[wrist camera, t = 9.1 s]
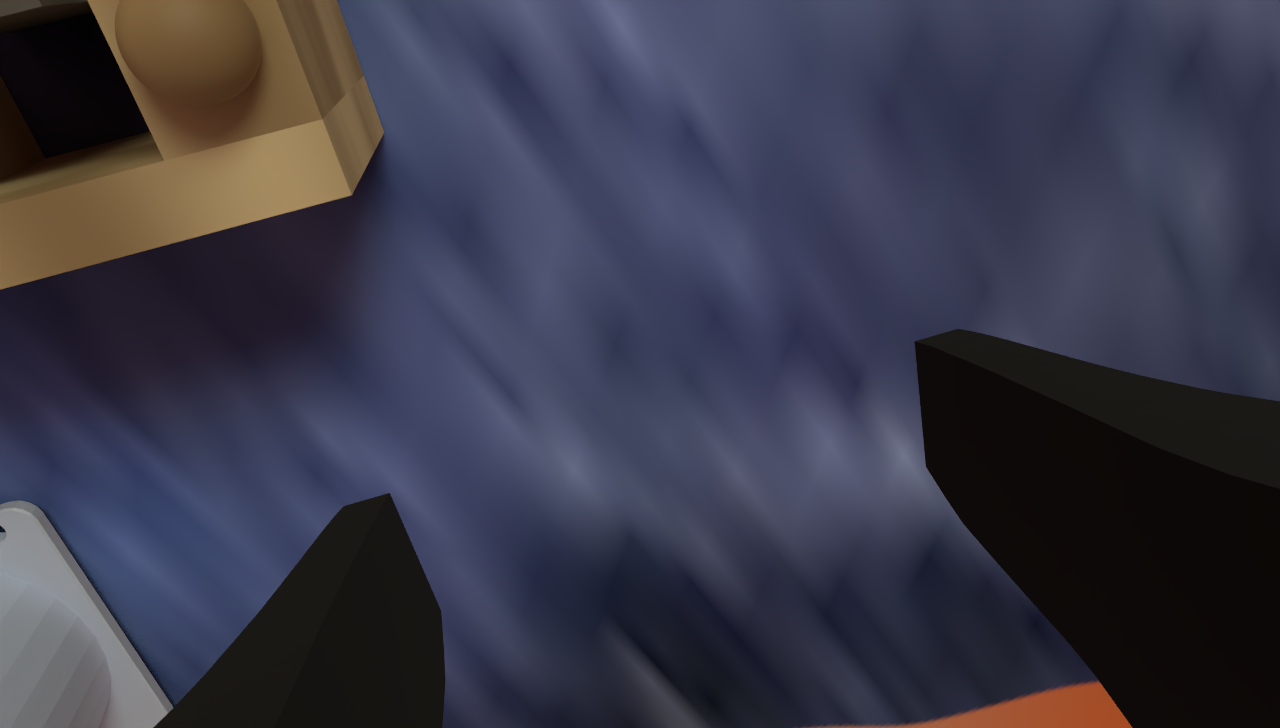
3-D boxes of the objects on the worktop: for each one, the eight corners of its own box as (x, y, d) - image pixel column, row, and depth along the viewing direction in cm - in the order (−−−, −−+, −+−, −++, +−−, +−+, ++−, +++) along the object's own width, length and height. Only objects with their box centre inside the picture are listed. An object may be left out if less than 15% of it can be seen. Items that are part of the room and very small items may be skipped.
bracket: (-40, 244, 18) (-301, 390, 12) (-169, 35, 16) (-556, 81, 10) (383, 132, 19) (340, 217, 12) (306, -83, 17) (210, -109, 11)
